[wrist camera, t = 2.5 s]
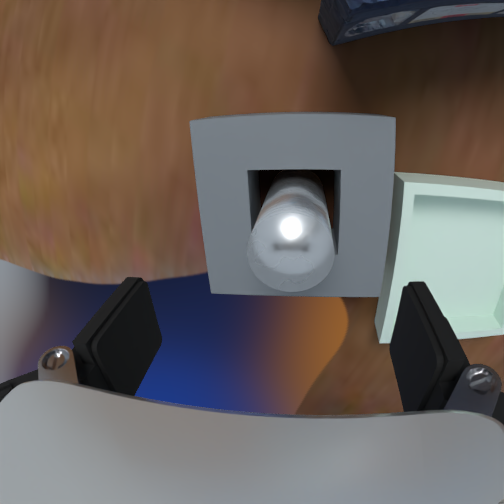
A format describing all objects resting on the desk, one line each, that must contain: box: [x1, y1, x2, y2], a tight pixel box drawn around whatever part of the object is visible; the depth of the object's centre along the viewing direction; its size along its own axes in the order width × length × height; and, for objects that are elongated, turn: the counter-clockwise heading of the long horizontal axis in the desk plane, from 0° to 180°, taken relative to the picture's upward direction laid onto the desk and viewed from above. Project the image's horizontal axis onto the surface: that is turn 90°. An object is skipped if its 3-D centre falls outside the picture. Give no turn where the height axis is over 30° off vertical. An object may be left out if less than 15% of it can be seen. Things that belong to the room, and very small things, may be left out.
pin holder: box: [190, 112, 396, 297], centre depth 21 cm, size 12×12×4 cm
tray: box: [374, 172, 504, 343], centre depth 22 cm, size 14×14×3 cm
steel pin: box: [247, 169, 335, 292], centre depth 19 cm, size 4×4×10 cm
